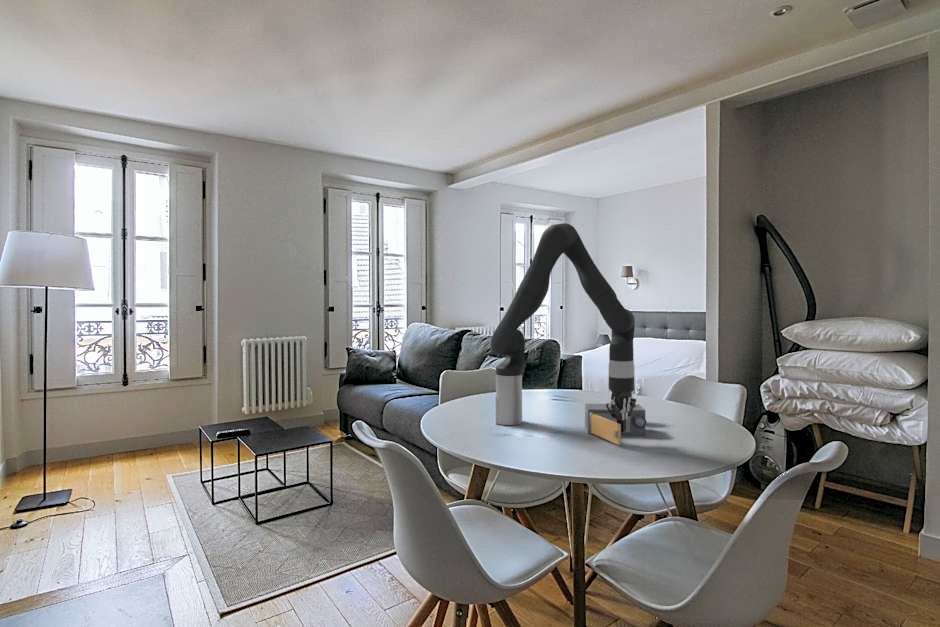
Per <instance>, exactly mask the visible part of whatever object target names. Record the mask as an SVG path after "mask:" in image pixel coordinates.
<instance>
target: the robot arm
mask: <svg viewBox="0 0 940 627" xmlns="http://www.w3.org/2000/svg"><path fill="white" fill-rule="evenodd" d="M563 254H564V255H565V256H566V257H567V258H568V259H569V261H570V262H571V264H573V267H574V268H575V270H576V273H577V276H578V279H579V281H580V284H581V286H582V288H583V290H584V292H585V293H586V294H587V296H588V297H589V299H590V301H591V302H592V303H593V304H594V305H595V306H596V308H597V309H598V311H599V314H600V315H601V317H602V318H603V320H604V321H605V323H606V325H607V327H609V329H610V330H611V340H610V344H609V349H608V351H609V353H608V354H609V355H608V356H609V357H608V358H609V361H608V362H609V363H608V389H609V390H608V391H610V392H611V396H610V402H609V403H605V404H606V407H607V409H608V411H609V413H610V414H611V416H612V418H615V419H616V420H617V423H619V424H621V432H625V431H626V419H627V418H628V416H631V413H632V411H633V408H634V405H635V404H636V402H637V399H636V398H634V397H633V392H634V391H635V363H634V337H635V326H636V325H635V324H636V322H635V316H634V314H633V313H632V311H630V310H629V309H627V308H625V307H624V305H623V304H622V302H621V301H620V300H619V299H618V297H617V294H616V292H615V290H614V289H613V287H612V286H611V285H610V283H609V282H608V280H606V278H605V276H604V275H603V274H602V273H601V272H600V269H599V268H598V267H597V265H596V263H595V261H594V260H593V258H592V257H591V256H590V254H589V252H588V250H587V248H586V246H585V245H584V243H583V240H582V238H581V237H580V235H579V232H578V231H577V230H576V228H575V226H573V225H572V224H570V223H566V222H565V223H564V222H563V223H558V224H557V223H556V224H551V225H550V226H548V227H546V228H545V229H544V231H543V233H542V234H541V237H540V239H539V242H538V245H537V248H536V250H535V253H534V255H533V258H532V261H531V263H529V264H530V265H529V266H528V267H527V268H528V269H527V270H526V273H524V274H525V275H524V276H523V278H522V279H521V282H520V284H519V285H518V288H517V290H516V292H515V294H514V297H513V299H512V301H511V302H510V305H509V306H508V309H507V310H506V312H505V314H504V316H503V317H502V319H501V321H500V322H499V324H498V326H497V327H496V328H495V329H494V331H493V333H492V336H491V339H490V348H491V351H492V353H493V354H494V355H496V356H499V357H500V356H502V357H503V356H505V357H504V360H503V361H501V362H500V364H498V365H496V367H495V424H496V425H503V426H517V425H520V424H522V423H523V369H524V366H525V352H526V342H525V336H524V334H523V331H521V330H520V329H519V328H520V327H521V326H522V325H523V324H524V323H525V322H526V321H527V320H529V318H531V317H532V316H533V315H534V314H535V313H536V312H537V311H538V310H539V309H540V307H541V306H542V304H543V302H544V300H545V297H546V296H547V293H548V291H549V288H550V279H551V275H552V274H551V273H552V271H553V268H554V266H555V265H556V263H557V261H558V259H559V258H561V255H563ZM631 392H632V394H631ZM631 396H632V397H631Z"/></svg>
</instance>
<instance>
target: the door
mask: <svg viewBox="0 0 940 627" xmlns="http://www.w3.org/2000/svg"><path fill="white" fill-rule="evenodd" d="M589 435H596V436H598V437H600V438H602V439H605V440H607V441H608V442H611V443H613V444H615V445H621V444H622V441H621V440H622V435H621V424H619V423H616V422H614V421H611V420H608V419H606V418H603V417H601V416H598V415H595V414H594V412H590V434H589Z"/></svg>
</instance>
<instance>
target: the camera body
mask: <svg viewBox="0 0 940 627" xmlns="http://www.w3.org/2000/svg"><path fill="white" fill-rule="evenodd" d="M606 404H607V403H584V428H585V431H586V433H587V434H588V435H591V434H590V412H594V414H595V415H598V416H601V417H603V418H606V419H608V420H611V421H614V422H616V423H617V420H616V419H615V418H612V416H611V414H610V413H609V411H608V409H607V407H606ZM646 427H647V419H646V409H645V408H643V406H642V405H640V404H639V403H637V404H636V403H635V405H634V408H633V411H632V413H631V416H628V418H627V419H626V431H625V432H621V434H637V435H636V436H646ZM638 434H640V435H638ZM641 434H643V435H641Z"/></svg>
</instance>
